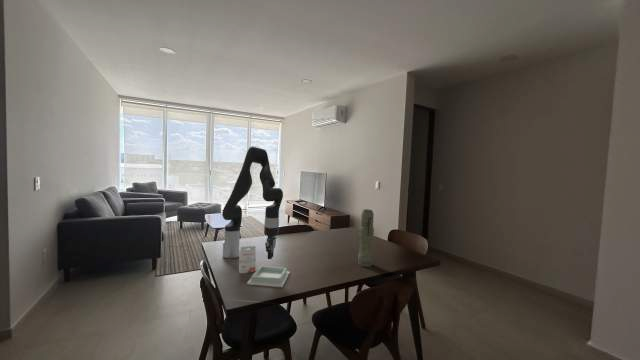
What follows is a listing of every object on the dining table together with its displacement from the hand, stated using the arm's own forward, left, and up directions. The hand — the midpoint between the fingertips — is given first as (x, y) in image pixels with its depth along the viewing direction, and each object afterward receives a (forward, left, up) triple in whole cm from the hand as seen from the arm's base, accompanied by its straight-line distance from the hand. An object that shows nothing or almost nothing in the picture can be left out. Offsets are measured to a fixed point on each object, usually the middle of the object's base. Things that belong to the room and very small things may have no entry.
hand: (270, 257), depth 140 cm
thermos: (+53, +32, -11) cm, 63 cm away
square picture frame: (0, 0, -11) cm, 11 cm away
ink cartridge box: (-15, +7, -11) cm, 20 cm away
